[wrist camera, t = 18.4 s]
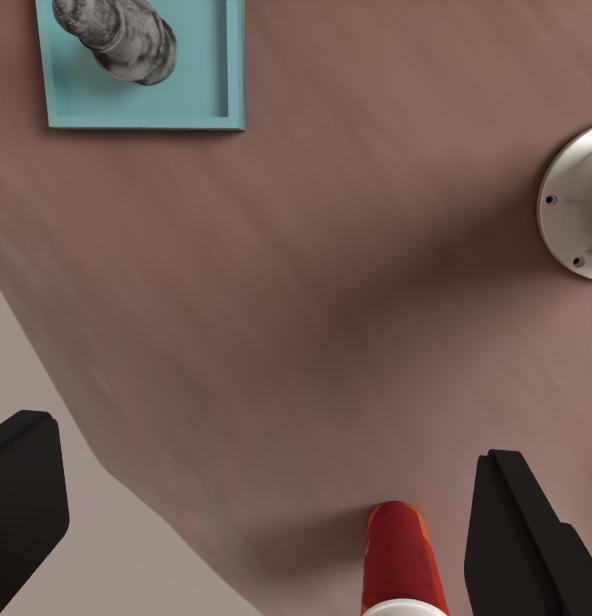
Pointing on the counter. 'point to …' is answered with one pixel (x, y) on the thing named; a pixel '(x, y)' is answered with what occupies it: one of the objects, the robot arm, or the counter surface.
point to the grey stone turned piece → (122, 37)
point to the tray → (161, 97)
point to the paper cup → (400, 565)
